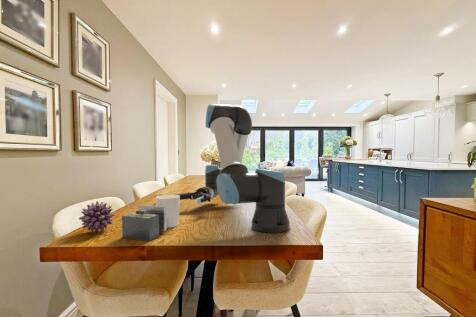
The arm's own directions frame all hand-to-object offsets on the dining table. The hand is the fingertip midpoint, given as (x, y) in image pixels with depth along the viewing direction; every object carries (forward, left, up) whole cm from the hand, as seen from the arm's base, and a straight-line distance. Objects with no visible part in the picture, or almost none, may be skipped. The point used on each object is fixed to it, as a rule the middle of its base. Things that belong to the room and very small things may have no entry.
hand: (183, 200), depth 114 cm
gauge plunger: (0, +26, -7) cm, 27 cm away
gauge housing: (0, +29, -8) cm, 30 cm away
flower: (+20, +29, -8) cm, 36 cm away
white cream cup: (-1, +13, -8) cm, 15 cm away
